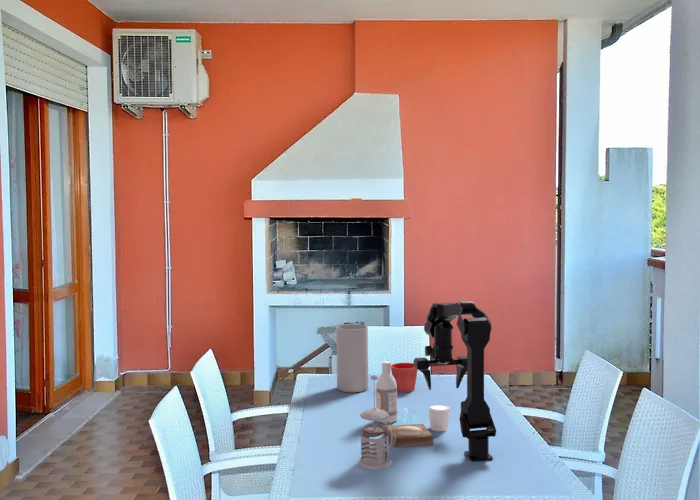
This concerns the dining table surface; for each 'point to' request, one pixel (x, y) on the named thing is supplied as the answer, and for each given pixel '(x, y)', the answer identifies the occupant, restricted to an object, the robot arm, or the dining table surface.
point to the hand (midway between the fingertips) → (443, 388)
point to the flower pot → (404, 376)
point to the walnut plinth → (410, 435)
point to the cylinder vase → (352, 357)
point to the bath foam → (387, 393)
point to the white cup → (439, 417)
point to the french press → (381, 455)
